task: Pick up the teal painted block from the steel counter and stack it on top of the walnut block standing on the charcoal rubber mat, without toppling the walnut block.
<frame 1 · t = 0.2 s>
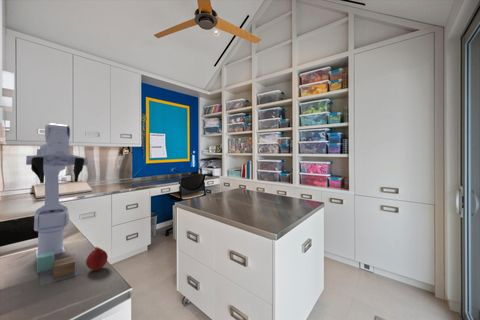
hand: (60, 180, 61), 31 cm above the worktop, tool tilted 45°, fingers open, 7 cm apart
walnut block: (63, 272, 66), resting on mat
teal block: (45, 269, 68), on the worktop
mat: (61, 273, 66), on the worktop
red round piece: (96, 271, 68), on the worktop
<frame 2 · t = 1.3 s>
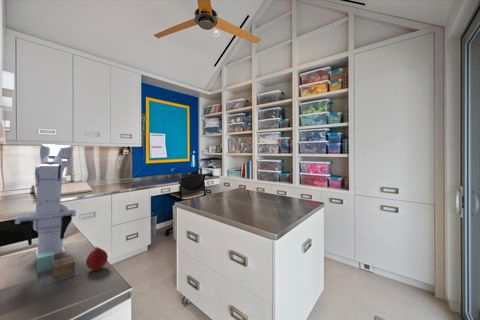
hand: (46, 241, 68), 9 cm above the worktop, tool pointing down, fingers open, 7 cm apart
nothing on the worktop moved.
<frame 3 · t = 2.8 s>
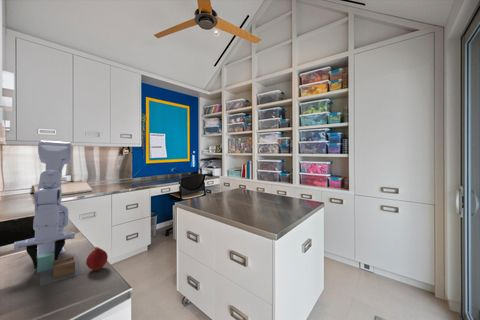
hand: (45, 265, 68), 1 cm above the worktop, tool pointing down, fingers closed on teal block, 4 cm apart
teal block: (45, 269, 68), on the worktop, touching gripper
everything else where it was.
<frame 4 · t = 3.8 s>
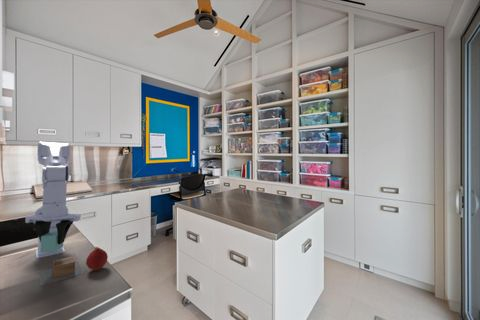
hand: (52, 243, 67), 9 cm above the worktop, tool pointing down, fingers closed on teal block, 4 cm apart
teal block: (52, 249, 67), point 7 cm above the worktop, touching gripper
everything else where it was.
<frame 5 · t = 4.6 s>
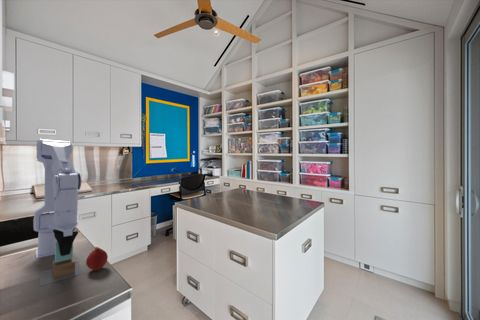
hand: (64, 252, 66), 7 cm above the worktop, tool pointing down, fingers closed on teal block, 4 cm apart
teal block: (63, 258, 66), point 5 cm above the worktop, touching gripper
everything else where it was.
when the fingers open (7 cm above the worktop, at t = 5.0 s): teal block stays where it is, resting on walnut block.
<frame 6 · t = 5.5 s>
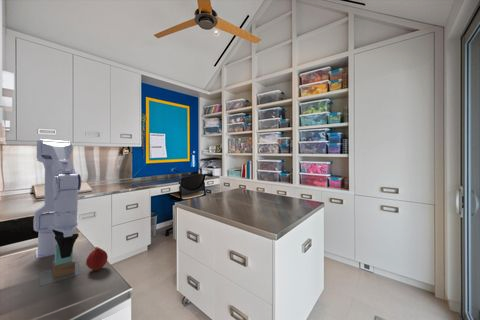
hand: (64, 253, 66), 7 cm above the worktop, tool pointing down, fingers open, 7 cm apart
walnut block: (63, 272, 66), resting on mat, touching teal block
teal block: (63, 261, 66), point 4 cm above the worktop, touching walnut block
everything else where it was.
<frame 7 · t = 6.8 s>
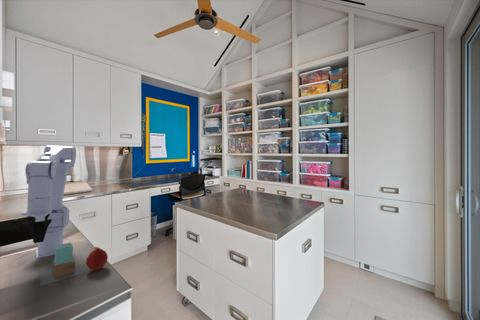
hand: (38, 239, 67), 10 cm above the worktop, tool pointing down, fingers open, 7 cm apart
nothing on the worktop moved.
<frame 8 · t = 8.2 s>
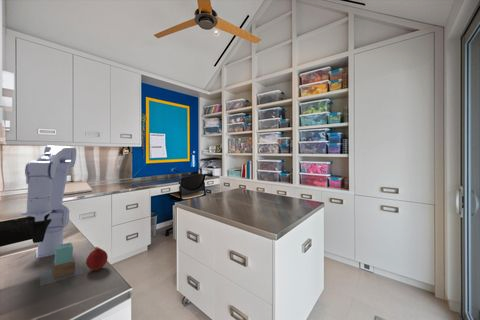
hand: (37, 239, 67), 10 cm above the worktop, tool pointing down, fingers open, 7 cm apart
nothing on the worktop moved.
at the end: teal block 0.2 cm off-centre on the walnut block, point 3.5 cm above the walnut block's base; walnut block tilted 0°; teal block tilted 0° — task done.
